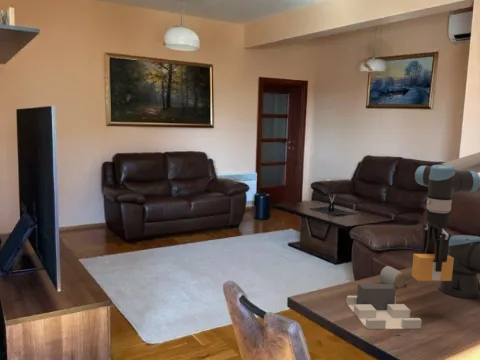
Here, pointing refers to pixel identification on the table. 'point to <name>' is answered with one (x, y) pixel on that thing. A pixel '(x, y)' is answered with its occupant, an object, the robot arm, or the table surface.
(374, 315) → the rack
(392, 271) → the ceramic mug
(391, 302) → the dark gray brick
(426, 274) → the tall orange brick
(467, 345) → the table surface
